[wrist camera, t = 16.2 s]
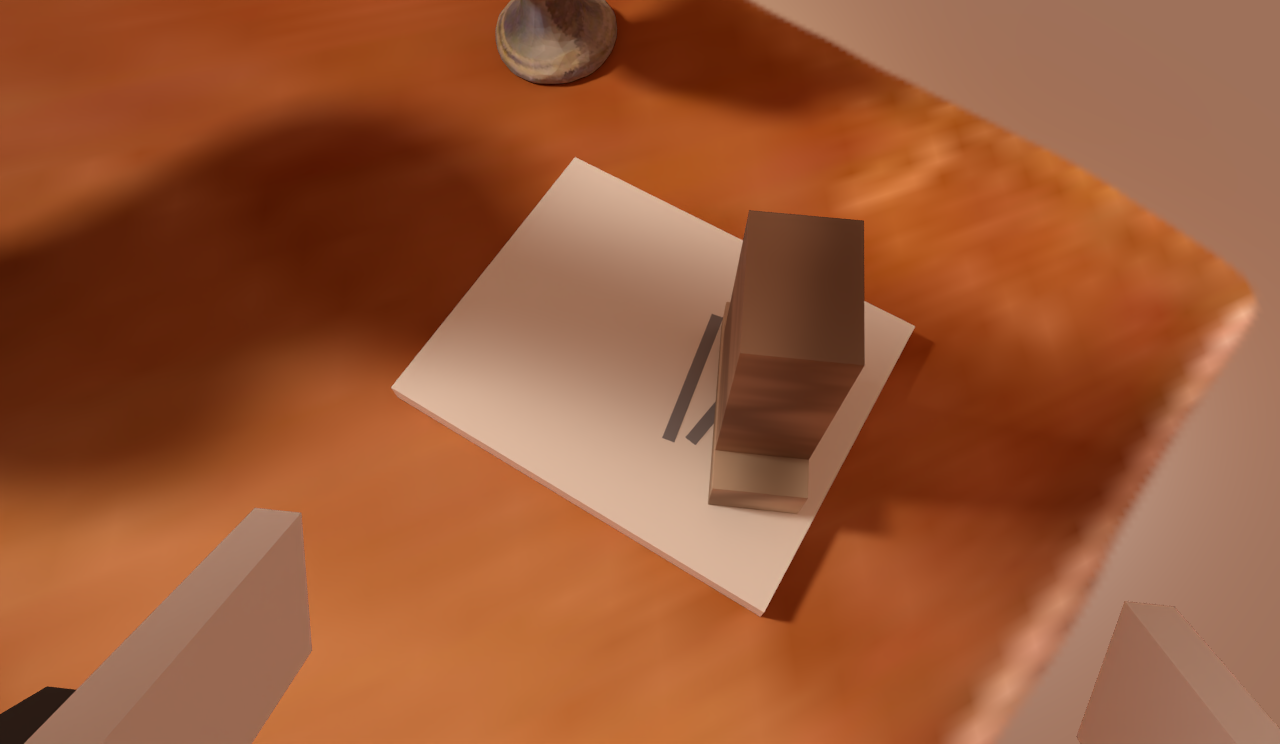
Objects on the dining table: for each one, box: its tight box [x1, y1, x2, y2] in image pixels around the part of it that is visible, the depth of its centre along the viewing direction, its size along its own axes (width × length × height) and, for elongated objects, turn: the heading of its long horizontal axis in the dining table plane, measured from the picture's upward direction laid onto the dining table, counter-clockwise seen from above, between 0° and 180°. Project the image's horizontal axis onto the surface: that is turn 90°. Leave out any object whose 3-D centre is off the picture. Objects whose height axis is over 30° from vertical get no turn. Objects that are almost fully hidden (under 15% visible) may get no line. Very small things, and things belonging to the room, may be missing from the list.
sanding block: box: [708, 210, 865, 514], centre depth 33 cm, size 4×9×12 cm, turn 174°
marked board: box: [391, 157, 915, 616], centre depth 40 cm, size 20×16×1 cm
